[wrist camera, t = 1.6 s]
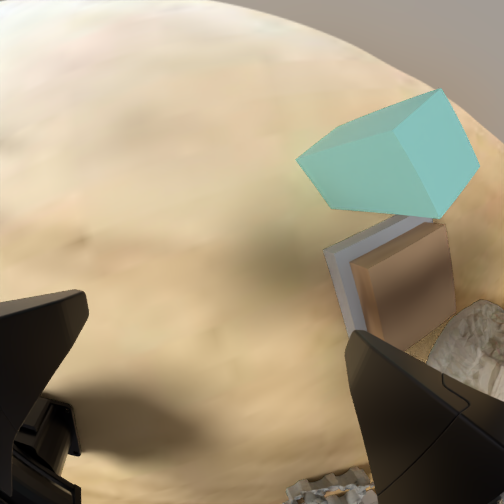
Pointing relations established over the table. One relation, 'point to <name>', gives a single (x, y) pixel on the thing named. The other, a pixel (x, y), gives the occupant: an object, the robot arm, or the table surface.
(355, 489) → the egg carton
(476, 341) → the grey jagged round piece
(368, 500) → the coffee box
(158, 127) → the table surface
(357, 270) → the walnut slab
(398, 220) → the slate slab
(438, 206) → the teal block
